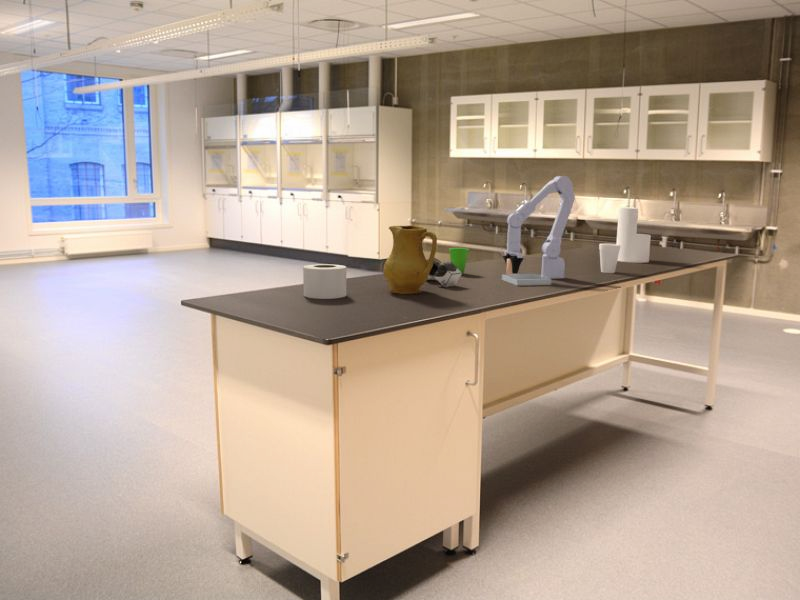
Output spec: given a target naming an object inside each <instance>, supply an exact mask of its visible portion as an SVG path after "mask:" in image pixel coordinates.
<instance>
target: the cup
mask: <svg viewBox="0 0 800 600" xmlns="http://www.w3.org/2000/svg"><path fill="white" fill-rule="evenodd" d="M448 251H449V257H450V262H452V263H453V264H454V265H455V266H457V268H458V269H459V270H460V271H461V272H462V275H463V274H464V273H465V269H466V265H467V264H466V263H467V258H468V253H469V251H470V249H469V248H464V247H452V248H448Z"/></svg>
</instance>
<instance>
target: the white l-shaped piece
mask: <svg viewBox="0 0 800 600" xmlns="http://www.w3.org/2000/svg"><path fill="white" fill-rule="evenodd" d="M638 216H639V208H638V207H635V206H619V207H618V215H617V217H618V218H617V229H616V230H617V231H616V243H615V244H619V245H620V250H619V255H618V260H617V262H621V263H623V262H624V263H637V264H638V263H649V262H650V253H651V252H650V251H651V250H650V248H651V237H652V235H651V234H647V233H646V234H645V233H638V231H637V229H638Z"/></svg>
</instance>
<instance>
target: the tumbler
mask: <svg viewBox="0 0 800 600" xmlns="http://www.w3.org/2000/svg"><path fill="white" fill-rule="evenodd" d="M510 274H513V273H512V263H511V260H510V258H507V268H506V271H505V275H510ZM514 274H519V272H518V273H514Z"/></svg>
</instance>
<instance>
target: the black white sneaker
mask: <svg viewBox="0 0 800 600" xmlns="http://www.w3.org/2000/svg"><path fill="white" fill-rule="evenodd" d="M426 260H427V262H428V261H429V258H428V259H426ZM462 275H463V274H462V272H461V271H460V270H459V269H458V268H457V266H455V265H454V264H453V263H452V262H451V261H446V262H441V260H439V259H438V258H435V257H434V262H433V266H432V269H431V270H430V273H429V276H428V279H427V280H426V281H435V280H436V281H437V282H438V283H439V284H440V285H441V286H442V287H443V288H449V287H455V286H456V285H457V284H458V281H459V280H460V278H461V276H462Z"/></svg>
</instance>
